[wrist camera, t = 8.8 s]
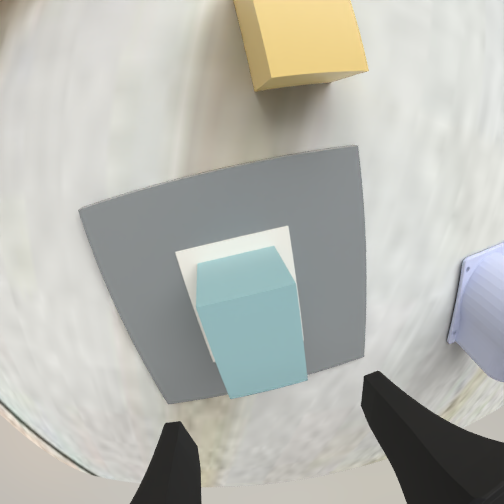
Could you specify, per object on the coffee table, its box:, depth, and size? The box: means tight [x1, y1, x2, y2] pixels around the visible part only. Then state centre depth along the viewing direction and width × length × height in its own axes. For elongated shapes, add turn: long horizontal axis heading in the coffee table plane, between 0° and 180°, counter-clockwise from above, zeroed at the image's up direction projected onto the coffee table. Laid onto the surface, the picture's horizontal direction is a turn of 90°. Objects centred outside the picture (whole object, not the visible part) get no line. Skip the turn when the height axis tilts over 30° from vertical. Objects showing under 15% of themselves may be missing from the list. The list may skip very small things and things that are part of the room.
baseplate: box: [78, 145, 366, 404], centre depth 19 cm, size 16×16×1 cm
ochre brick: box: [233, 0, 369, 92], centre depth 11 cm, size 6×4×4 cm
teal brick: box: [196, 246, 308, 399], centre depth 16 cm, size 6×4×4 cm
